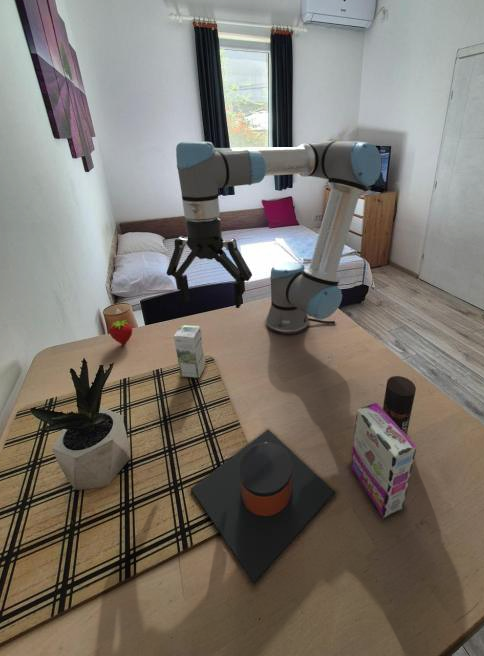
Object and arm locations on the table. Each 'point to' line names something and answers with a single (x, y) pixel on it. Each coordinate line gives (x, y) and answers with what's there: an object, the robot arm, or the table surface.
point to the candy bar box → (382, 458)
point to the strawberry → (121, 331)
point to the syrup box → (189, 351)
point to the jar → (266, 479)
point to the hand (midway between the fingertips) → (212, 303)
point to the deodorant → (399, 401)
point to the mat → (254, 530)
